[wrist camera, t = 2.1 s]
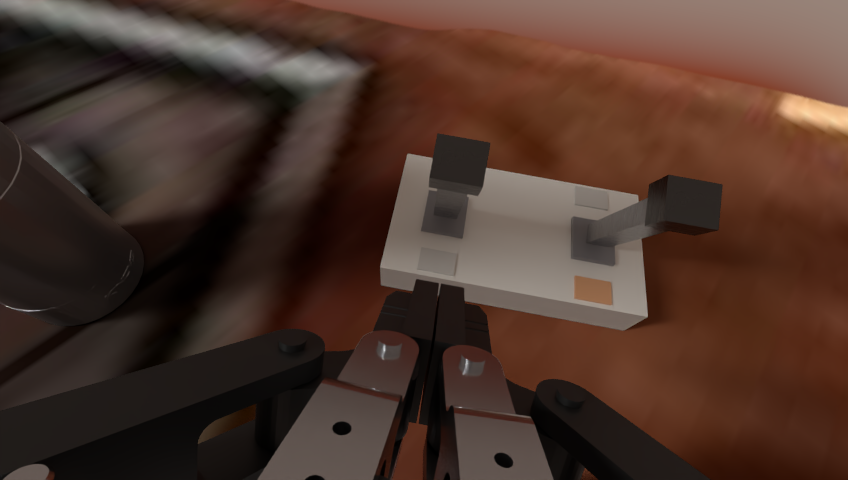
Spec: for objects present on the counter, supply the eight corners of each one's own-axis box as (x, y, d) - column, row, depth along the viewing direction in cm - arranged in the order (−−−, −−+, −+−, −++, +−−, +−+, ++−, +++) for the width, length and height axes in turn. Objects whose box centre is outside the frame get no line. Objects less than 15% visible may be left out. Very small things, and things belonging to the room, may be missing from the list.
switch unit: (381, 285, 38) (379, 264, 34) (406, 178, 44) (407, 150, 40) (623, 330, 38) (651, 315, 34) (617, 216, 43) (640, 192, 39)
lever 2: (579, 247, 35) (663, 220, 23) (583, 217, 36) (668, 174, 23) (614, 254, 35) (718, 230, 23) (618, 224, 36) (722, 184, 23)
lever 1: (426, 219, 36) (429, 177, 23) (432, 190, 36) (437, 133, 24) (461, 226, 36) (482, 187, 23) (466, 196, 36) (490, 142, 24)
